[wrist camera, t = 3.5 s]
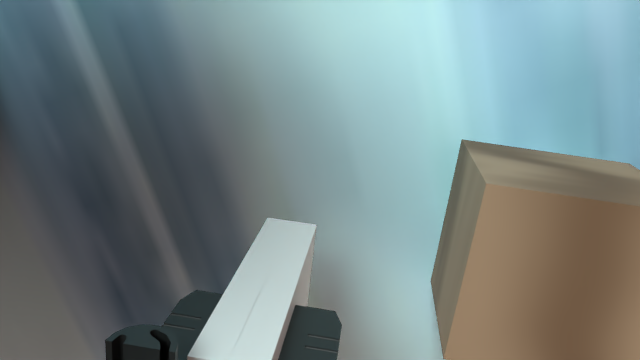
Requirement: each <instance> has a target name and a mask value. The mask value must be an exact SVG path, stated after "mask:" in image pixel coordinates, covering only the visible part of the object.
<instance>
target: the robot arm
mask: <svg viewBox="0 0 640 360" xmlns="http://www.w3.org/2000/svg"><path fill="white" fill-rule="evenodd" d="M316 227H317V225H316V224H309V223H302V222H295V221H289V220H282V219H275V218H269V217H268V218H267V220H266V221H265V223H264V225H263V226H262V228H261V230H260V232H259V233H258V235H257V237H256V238H255V240H254V242H253V244H252V245H251V247H250V249H249V251H248V252H247V254H246V256H245V257H244V259H243V261H242V263H241V264H240V266H239V268H238V270H237V271H236V273H235V275H234V276H233V278H232V280H231V282H230V283H229V285H228V287H227V288H226V290H225V292H224V294H217V293H211V292H205V291H198V290H196V291H194V292H193V293H191V294H189V295H188V296H186V297H184V298H183V299H181V300H180V301H179V303H178V304H177V305H176V307H175V308H174V310H173V311H172V312H171V315H169V317H168V318H167V319H166V321H165V322H164V325H163V326H161V327H160V326H157V325H137V326H131V327H127V328H125V329H122V330H120V331H117V332H115V333H114V334H113V335H111V336H110V337H109V338H108V339H106V340H105V343H106V360H337V354H338V347H339V340H340V333H341V326H342V325H341V323H340V321H339V318H338V316H337V314H336V312H335V311H330V310H324V309H318V308H312V307H307V305H308V298H309V289H310V280H311V271H312V263H313V254H314V245H315V236H316Z"/></svg>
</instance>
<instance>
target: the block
mask: <svg viewBox="0 0 640 360" xmlns="http://www.w3.org/2000/svg"><path fill="white" fill-rule="evenodd" d="M431 285H432V291H433V297H434V304H435V310H436V316H437V322H438V328H439V334H440V340H441V346H442V352H443V359H447V360H640V170H638V169H637V168H635V167H634V166H632V165H631V164H628V163H621V162H614V161H607V160H600V159H593V158H586V157H579V156H573V155H566V154H559V153H552V152H545V151H538V150H531V149H524V148H517V147H510V146H503V145H496V144H489V143H482V142H475V141H468V140H462V141H461V145H460V150H459V155H458V159H457V164H456V168H455V173H454V177H453V182H452V186H451V191H450V196H449V200H448V205H447V209H446V214H445V218H444V223H443V228H442V232H441V237H440V241H439V246H438V250H437V255H436V260H435V264H434V269H433V273H432V278H431Z"/></svg>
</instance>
